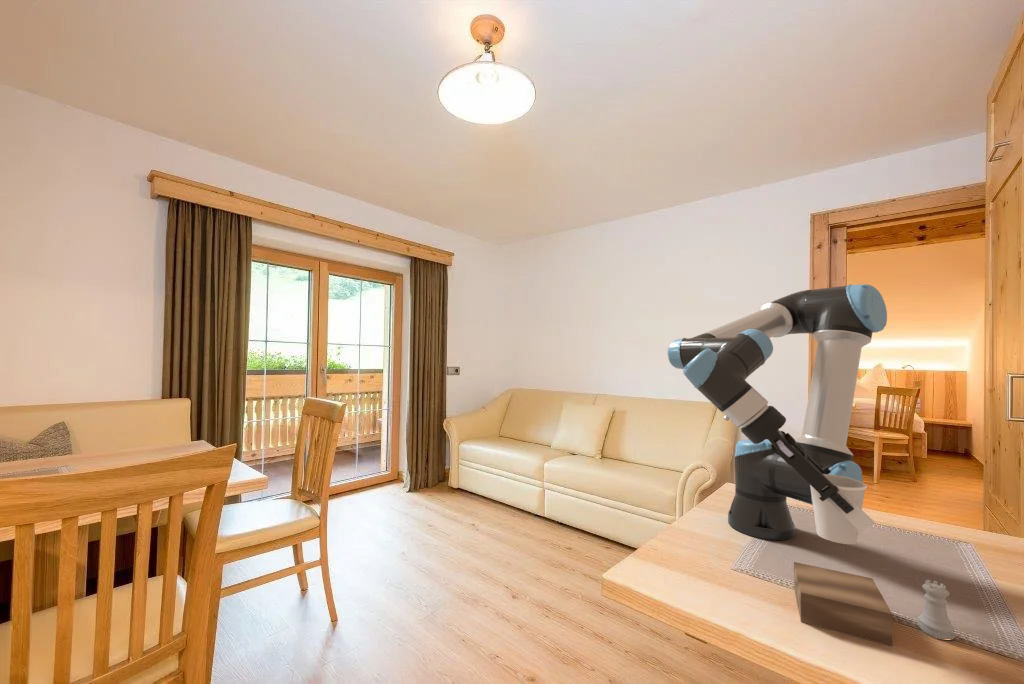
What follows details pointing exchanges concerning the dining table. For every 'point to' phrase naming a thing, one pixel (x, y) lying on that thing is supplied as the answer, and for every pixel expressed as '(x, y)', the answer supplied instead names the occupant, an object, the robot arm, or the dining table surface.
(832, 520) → the dixie cup
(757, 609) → the dining table surface
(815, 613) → the walnut block
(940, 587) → the rook chess piece
